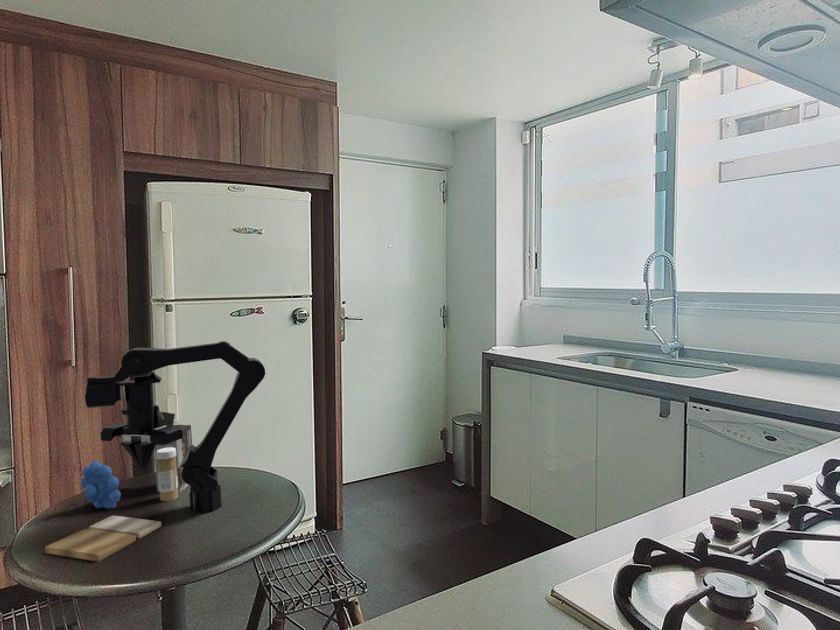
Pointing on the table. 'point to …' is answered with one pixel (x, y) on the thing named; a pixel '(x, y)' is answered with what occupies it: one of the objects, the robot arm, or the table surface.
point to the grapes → (100, 485)
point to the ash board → (126, 525)
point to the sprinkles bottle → (167, 474)
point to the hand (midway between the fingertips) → (144, 470)
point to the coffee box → (178, 454)
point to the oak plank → (90, 544)
